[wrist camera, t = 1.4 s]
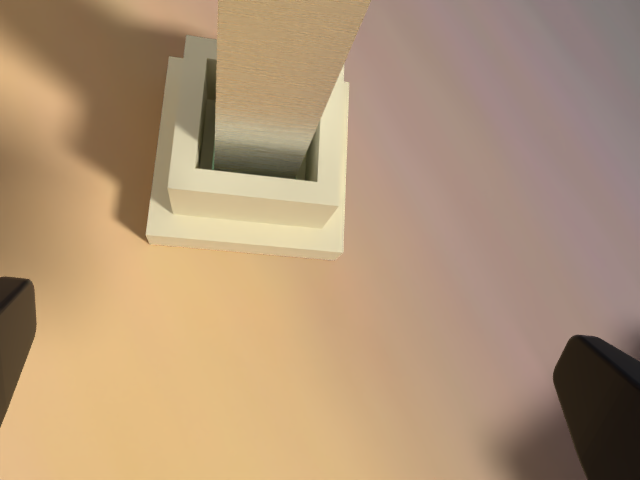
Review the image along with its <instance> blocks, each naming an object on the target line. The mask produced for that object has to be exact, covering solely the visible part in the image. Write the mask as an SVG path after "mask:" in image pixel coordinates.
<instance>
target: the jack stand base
mask: <svg viewBox="0 0 640 480" xmlns="http://www.w3.org/2000/svg"><path fill="white" fill-rule="evenodd" d="M216 70H217V40H216V39H209V38H203V37H196V36H190V35H186V41H185V49H184V58H178V57H171V56H169V60H168V68H167V76H166V83H165V91H164V99H163V106H162V114H161V121H160V129H159V137H158V144H157V152H156V160H155V167H154V175H153V182H152V190H151V198H150V205H149V213H148V221H147V228H146V237H147V239H148V241H149V244H152V245H163V246H175V247H186V248H198V249H209V250H220V251H232V252H243V253H255V254H266V255H278V256H289V257H300V258H312V259H323V260H336V259H337V258H338V257H339V256H340V255H341V254H342V253H343V244H344V215H345V187H346V158H347V130H348V101H349V82H344V65H343V67H342V70H341V72H340V74H339V77H338V79H337V81H336V84H335V86H334V89H333V91H332V93H331V96H330V98H329V100H328V103H327V105H326V107H325V110H324V112H323V114H322V117H321V119H320V121H319V124H318V126H317V128H316V131H315V133H314V136H313V138H312V140H311V143H310V145H309V147H308V150H307V152H306V154H305V157H304V159H303V161H302V164H301V166H300V168H299V171H298V173H297V175H296V180H295V179H286V178H277V177H268V176H259V175H251V174H242V173H233V172H224V171H215V170H212V162H213V153H214V143H215V111H216Z"/></svg>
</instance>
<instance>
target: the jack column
mask: <svg viewBox="0 0 640 480" xmlns="http://www.w3.org/2000/svg"><path fill="white" fill-rule="evenodd" d="M370 2H371V0H218V28H217V70H216V111H215V143H214V153H213V162H212V170H215V171H224V172H233V173H242V174H251V175H259V176H268V177H277V178H286V179H295V180H296V175H297V173H298V171H299V168H300V166H301V164H302V161H303V159H304V157H305V154H306V152H307V150H308V147H309V145H310V143H311V140H312V138H313V136H314V133H315V131H316V128H317V126H318V124H319V121H320V119H321V117H322V114H323V112H324V110H325V107H326V105H327V103H328V100H329V98H330V96H331V93H332V91H333V89H334V86H335V84H336V81H337V79H338V77H339V74H340V72H341V70H342V67H343V65H344V63H345V60H346V58H347V56H348V53H349V51H350V49H351V46H352V44H353V41H354V39H355V37H356V34H357V32H358V30H359V27H360V25H361V23H362V20H363V18H364V16H365V13H366V11H367V9H368V6H369V4H370Z"/></svg>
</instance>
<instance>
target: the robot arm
mask: <svg viewBox="0 0 640 480" xmlns="http://www.w3.org/2000/svg"><path fill="white" fill-rule="evenodd" d="M35 332H36V308H35V292H34V286H33V283H32V281H31V280H29V279H25V278H15V277H0V427H1V424H2V422H3V419H4V417H5V414H6V412H7V409H8V407H9V404H10V401H11V399H12V396H13V393H14V391H15V388H16V385H17V383H18V380H19V377H20V375H21V372H22V369H23V367H24V364H25V361H26V359H27V356H28V353H29V351H30V348H31V345H32V343H33V340H34V337H35ZM553 382H554V386H555V389H556V392H557V395H558V398H559V401H560V404H561V407H562V410H563V413H564V416H565V419H566V422H567V425H568V428H569V431H570V434H571V437H572V440H573V443H574V446H575V449H576V452H577V455H578V458H579V461H580V463H581V465H582V468H583V470H584V473H585V475H586V477H587V480H640V362H639V361H638V360H636V359H634V358H632V357H631V356H629V355H627V354H626V353H624V352H622V351H621V350H619V349H617V348H616V347H614V346H612V345H610V344H609V343H607V342H605V341H604V340H602V339H600V338H598V337H595V336H586V335H575V336H573V337H571V338H570V339H569V341H568V342H567V344H566V346H565V348H564V350H563V352H562V354H561V356H560V358H559V360H558V362H557V364H556V366H555V369H554V372H553Z"/></svg>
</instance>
